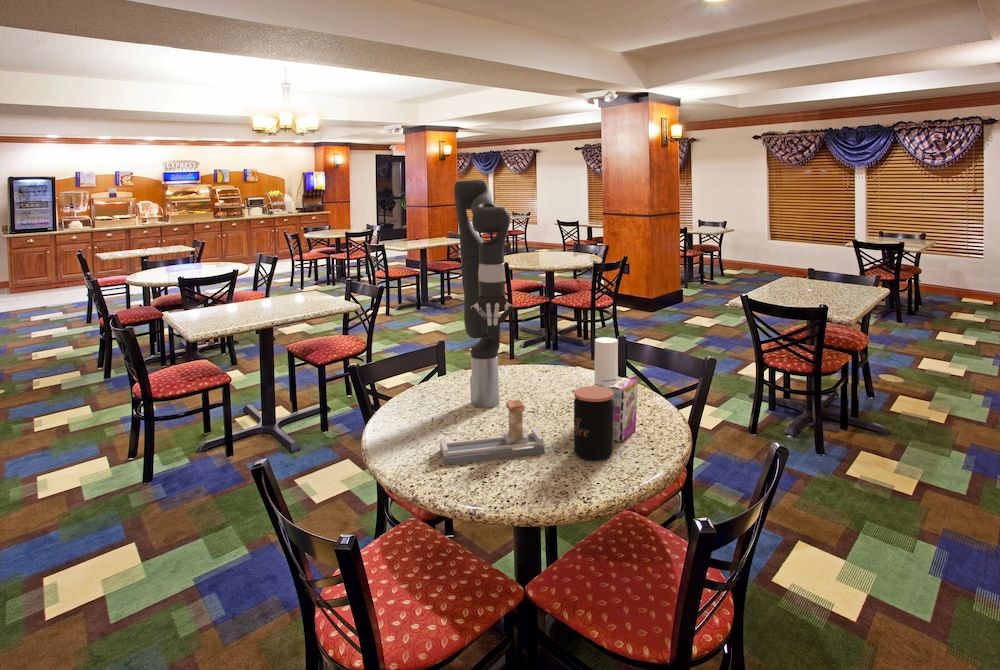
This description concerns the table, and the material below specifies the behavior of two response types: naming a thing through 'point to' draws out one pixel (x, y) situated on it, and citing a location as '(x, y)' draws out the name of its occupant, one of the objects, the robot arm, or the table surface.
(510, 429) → the slider
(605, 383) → the cylindrical container
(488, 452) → the track
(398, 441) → the table surface
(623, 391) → the candy bar box
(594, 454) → the coffee jar
